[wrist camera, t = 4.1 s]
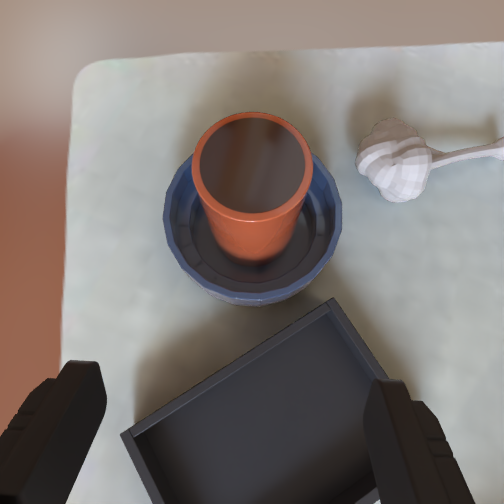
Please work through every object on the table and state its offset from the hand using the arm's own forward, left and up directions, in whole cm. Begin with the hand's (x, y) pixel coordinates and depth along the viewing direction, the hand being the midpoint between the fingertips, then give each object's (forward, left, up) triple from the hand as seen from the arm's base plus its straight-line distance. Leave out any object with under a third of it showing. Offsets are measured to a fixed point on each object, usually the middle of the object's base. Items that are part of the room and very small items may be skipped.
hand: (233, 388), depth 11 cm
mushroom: (-20, -5, -14) cm, 25 cm away
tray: (0, +5, -14) cm, 15 cm away
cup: (-6, -8, -14) cm, 17 cm away
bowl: (-6, -8, -14) cm, 17 cm away
